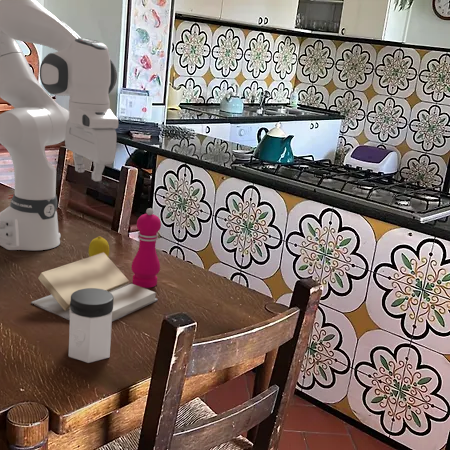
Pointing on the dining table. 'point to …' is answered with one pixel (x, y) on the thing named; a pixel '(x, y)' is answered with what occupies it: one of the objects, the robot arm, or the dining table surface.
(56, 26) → the robot arm
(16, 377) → the dining table surface
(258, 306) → the dining table surface
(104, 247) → the lemon
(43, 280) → the birch plank
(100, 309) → the jar
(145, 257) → the pepper mill
